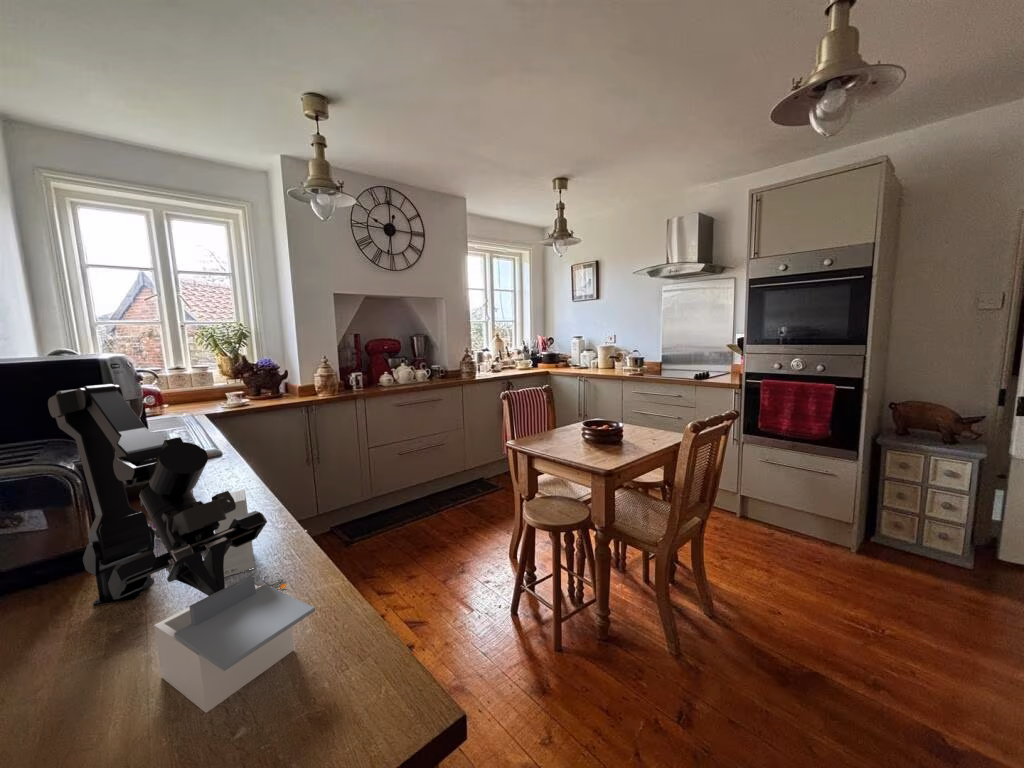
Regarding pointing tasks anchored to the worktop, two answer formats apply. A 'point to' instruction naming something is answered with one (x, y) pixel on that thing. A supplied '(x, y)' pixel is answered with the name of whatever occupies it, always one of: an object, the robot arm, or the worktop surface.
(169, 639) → the mailer box
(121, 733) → the worktop surface
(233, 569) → the skincare box
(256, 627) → the lid
